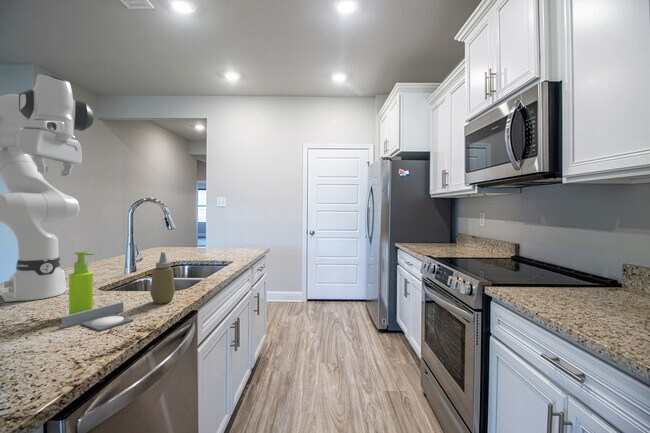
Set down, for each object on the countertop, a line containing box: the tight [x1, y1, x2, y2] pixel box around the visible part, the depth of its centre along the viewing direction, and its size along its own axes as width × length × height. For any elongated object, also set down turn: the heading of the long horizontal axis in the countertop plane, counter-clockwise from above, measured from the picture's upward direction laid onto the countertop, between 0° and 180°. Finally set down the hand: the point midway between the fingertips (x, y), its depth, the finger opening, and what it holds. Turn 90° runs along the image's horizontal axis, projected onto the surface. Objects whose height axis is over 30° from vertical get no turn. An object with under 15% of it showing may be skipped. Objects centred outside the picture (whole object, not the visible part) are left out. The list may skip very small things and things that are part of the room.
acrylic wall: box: [61, 301, 124, 329], centre depth 93 cm, size 1×16×3 cm, turn 153°
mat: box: [80, 313, 134, 332], centre depth 89 cm, size 10×9×1 cm
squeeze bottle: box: [149, 251, 176, 305], centre depth 110 cm, size 8×8×18 cm
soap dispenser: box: [68, 251, 95, 315], centre depth 96 cm, size 6×7×20 cm
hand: (54, 174), depth 93 cm, fingers open, 8 cm apart
